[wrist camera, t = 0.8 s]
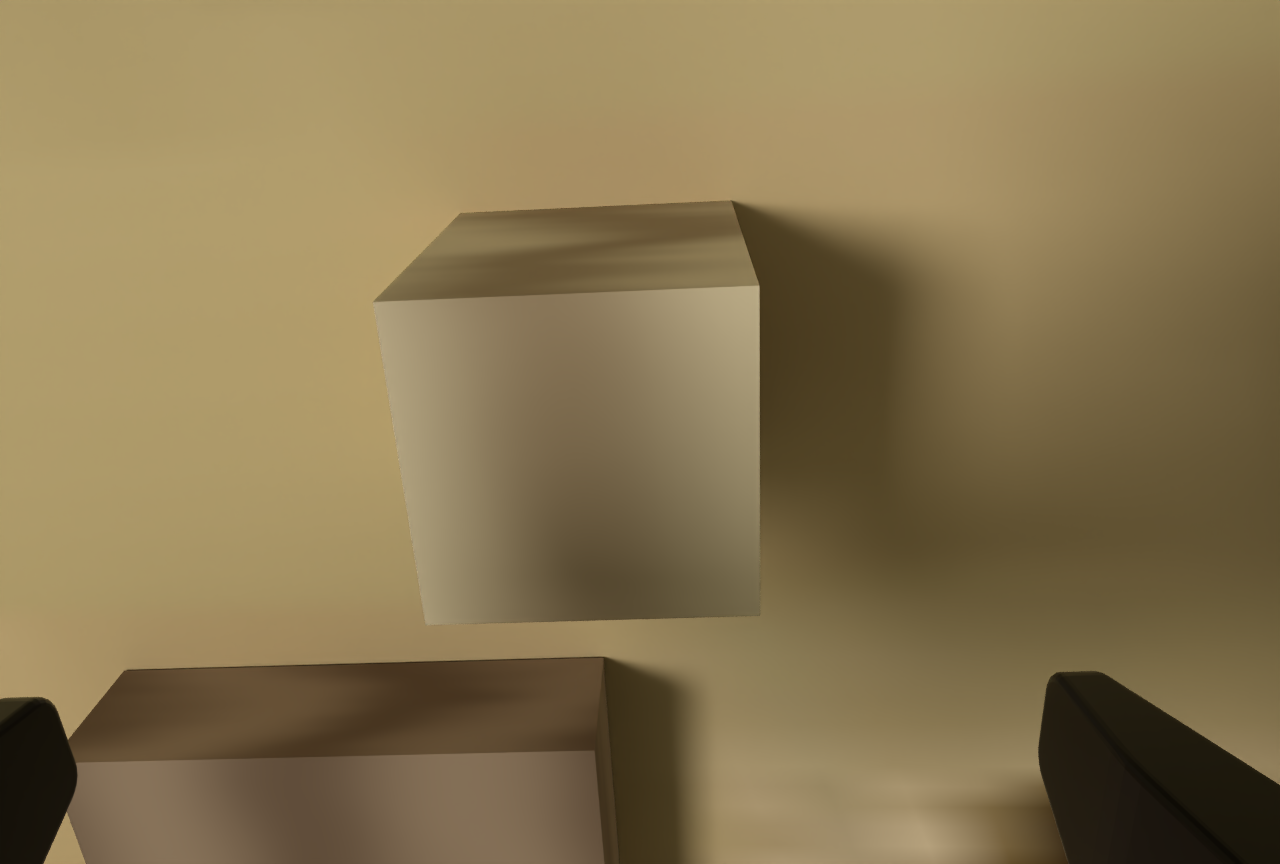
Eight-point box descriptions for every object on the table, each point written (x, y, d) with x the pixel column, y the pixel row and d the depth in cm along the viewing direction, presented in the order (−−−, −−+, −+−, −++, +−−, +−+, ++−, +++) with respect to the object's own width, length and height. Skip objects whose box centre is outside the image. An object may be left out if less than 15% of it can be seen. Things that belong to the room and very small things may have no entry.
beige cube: (731, 200, 18) (759, 285, 13) (734, 448, 20) (760, 615, 15) (460, 212, 18) (372, 301, 13) (490, 456, 20) (425, 624, 15)
